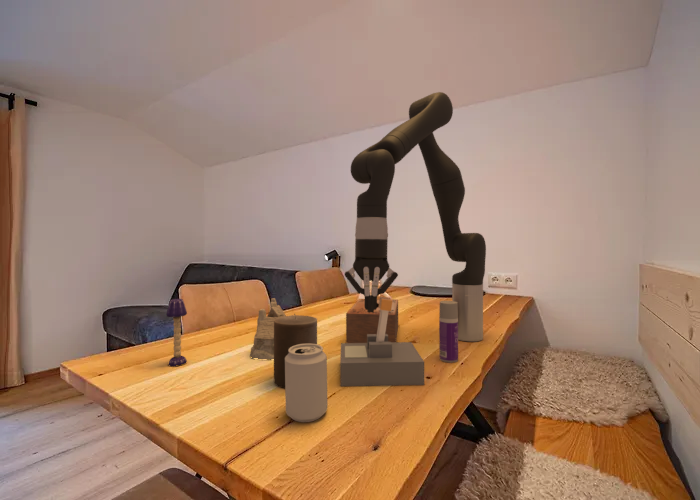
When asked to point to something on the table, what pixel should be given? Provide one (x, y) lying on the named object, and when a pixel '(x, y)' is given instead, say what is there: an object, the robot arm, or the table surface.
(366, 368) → the box
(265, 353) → the ceramic cottage
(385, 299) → the breaker lever
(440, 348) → the container
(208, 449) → the table surface
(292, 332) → the pillar candle
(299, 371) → the can
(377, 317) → the tissue box cover
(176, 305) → the toy lamp
